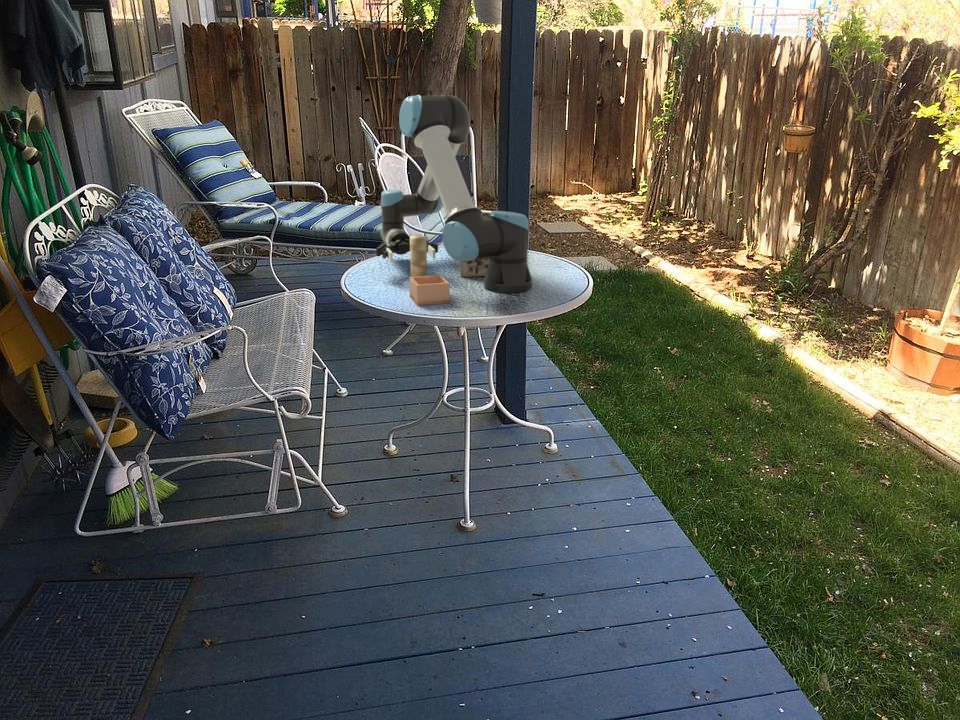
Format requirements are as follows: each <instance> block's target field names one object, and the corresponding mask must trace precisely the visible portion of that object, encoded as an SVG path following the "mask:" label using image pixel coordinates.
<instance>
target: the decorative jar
mask: <svg viewBox="0 0 960 720" xmlns="http://www.w3.org/2000/svg"><path fill="white" fill-rule="evenodd" d="M489 262H490V257H487V258H480V259H475V260H471V261H459V277H460V278H473V277H472V276H485V274H486V271H487V268H488V265H489Z"/></svg>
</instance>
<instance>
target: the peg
mask: <svg viewBox="0 0 960 720" xmlns="http://www.w3.org/2000/svg"><path fill="white" fill-rule="evenodd" d="M426 242H427V236H425V235H418V234H417V235H411V236H410V251H409V255H410V257H409V258H410V277H419V276H428V264H427V263H428V253H427V247H426Z"/></svg>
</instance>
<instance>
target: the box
mask: <svg viewBox="0 0 960 720" xmlns="http://www.w3.org/2000/svg"><path fill="white" fill-rule="evenodd" d="M408 281H409V298H410V299H411V300H412V301H413V302H414V303H415V305H416V306H418V307H419V306H429V305H430V306H431V305H433V306H434V305H442V304H450V299H451V298H450V294H451V293H450V282H449V281H448V280H447V279H446V278H445V277H444V276H443V275H441V274H436V275H435V274H434V275H427V276H419V277H411V276H409V280H408Z"/></svg>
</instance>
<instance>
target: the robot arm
mask: <svg viewBox="0 0 960 720" xmlns="http://www.w3.org/2000/svg"><path fill="white" fill-rule="evenodd" d="M398 117H399V119H398V120H399V121H398V124H399V129H400V132H401V133H402V135H404V136H405V137H407V138H410V137H411V138H412V141H413V143H414V146H415V147H416V148H419V149H421V150H422V153H423V156H424V158H425V161H426V164H427V166H426V169H425V171H424V174H423V176H422V178H421V181H420V184H419V186H418V189H417V191H416V193H409V194H404V192H403V191H402V190H401V189H385V190H383V191H382V192H381V194H380V195H381V196H380V206H381V208H380V209H381V221H382V222H381V229H380V237H381V238H380V239H381V240H382V242H381V244H380V245H378V247H376V248H375V249H376V257H381V256H382V259H388V260H389V261H390V262H393V261H394V257H393V255H394V254H396V255H400V256H403V255H405V254H407V253H410V237H411V236H410V235H409V234H408V233H407V232H406V231H405V224H404V223H405V218H406V217H407V218H408V217H416V216H426V215H432V214H437V213H438V214H439V212H440V211H441V210H442V206H443V208H444V212H445V214H446V218H445V220H444V223H443V224H444V226H443V228H442V232H441V236H442V244H443V247H444V249H445V251H446V253H447V254H448V256H450V257H451V258H452V259H454V260H456V261H459V262H460V261H471V260H475V259H480V258H487V257H490V262H489V265H488V268H487V271H486V274H485V277H483V287H484V289H486V290H488V291H492V292H495V293H496V292H497V293H502V294H503V293H504V294H505V293H506V294H507V293H508V294H509V293H513V294H514V293H515V294H516V293H521V292H526V290H527V291H529V290H531V289H532V287H533V279H532V274H531V271H530V268H529V263H528V249H529V248H528V247H529V246H528V245H529V244H528V239H529V229H530V228H529V218H528V217H527V215H525V214H523V213H518V212H513V211H505V210H492V211H490V212H489V217H484V214H483V212H482V208H480V207H478V206H475V205H474V202H473V200H472V197H471V195H470V192H469V189H468V187H467V184H466V181H465V179H464V177H463V173H462V171H461V169H460V166H459V164H458V161H457V158H456V156H457V154H458V151H459V149H460V146H461V145H462V144H464V143H465V142H466V140H467V139H468V135H469V133H470V130H471V129H470V128H471V115H470V113H469V109H468V107H467V106H466V104H465V103H464V102H463V100H462V99H460V98H459V97H458V96H455V95H451V94H441V95H439V94H437V95H420V94H416V95H409V96H407V97H406V98H404V100H403V101H402V104H401V106H400V110H399V115H398ZM426 247H427V255H429V256H430V257H431V258H432V259H436V253H439V244H437V243H434V242H429V241H426Z"/></svg>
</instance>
